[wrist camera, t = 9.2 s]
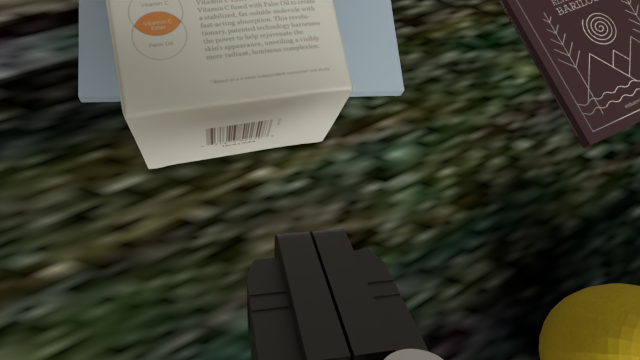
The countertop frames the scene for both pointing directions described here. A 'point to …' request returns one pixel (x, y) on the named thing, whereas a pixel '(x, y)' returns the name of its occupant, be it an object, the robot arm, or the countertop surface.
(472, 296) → the countertop surface
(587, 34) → the chocolate bar
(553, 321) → the lemon
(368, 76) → the flat blue-gray panel
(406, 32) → the countertop surface
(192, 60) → the small box
